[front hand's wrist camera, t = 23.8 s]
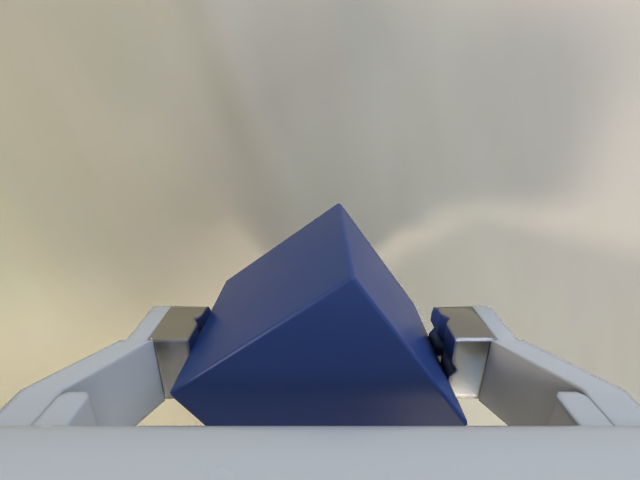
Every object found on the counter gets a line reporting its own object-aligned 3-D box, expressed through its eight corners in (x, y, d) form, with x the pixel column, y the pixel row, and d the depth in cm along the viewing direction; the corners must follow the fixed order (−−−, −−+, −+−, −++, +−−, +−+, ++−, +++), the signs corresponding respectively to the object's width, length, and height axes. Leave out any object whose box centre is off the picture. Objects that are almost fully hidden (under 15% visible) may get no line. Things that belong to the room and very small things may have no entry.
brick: (414, 303, 12) (470, 426, 8) (305, 367, 13) (298, 509, 9) (339, 201, 11) (353, 276, 6) (225, 281, 12) (167, 394, 7)
